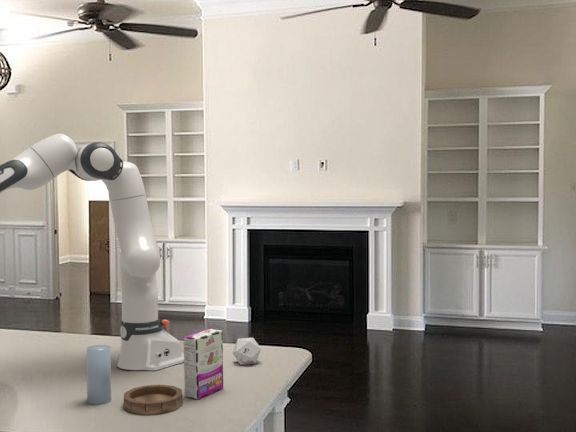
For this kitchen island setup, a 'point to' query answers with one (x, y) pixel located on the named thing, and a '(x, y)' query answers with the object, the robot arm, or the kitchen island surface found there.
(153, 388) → the tray
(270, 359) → the kitchen island surface
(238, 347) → the die
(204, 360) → the candy bar box
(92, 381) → the pale blue cylinder
